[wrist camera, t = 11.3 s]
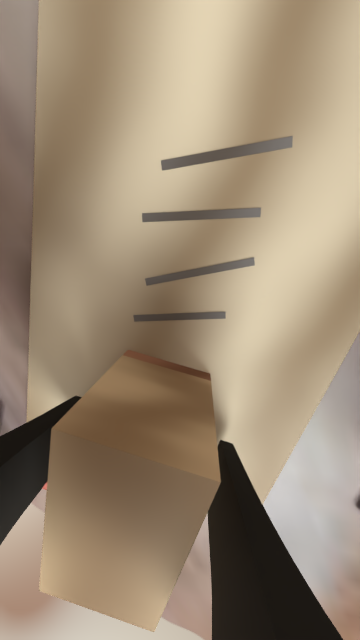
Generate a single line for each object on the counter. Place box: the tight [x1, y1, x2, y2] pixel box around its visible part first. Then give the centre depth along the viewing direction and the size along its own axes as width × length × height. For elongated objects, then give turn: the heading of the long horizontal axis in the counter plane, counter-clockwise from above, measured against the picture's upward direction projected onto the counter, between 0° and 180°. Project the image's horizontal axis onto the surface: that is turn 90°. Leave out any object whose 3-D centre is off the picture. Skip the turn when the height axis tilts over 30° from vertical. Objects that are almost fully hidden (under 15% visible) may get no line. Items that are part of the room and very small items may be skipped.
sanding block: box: [39, 350, 221, 632], centre depth 7 cm, size 4×7×4 cm, turn 166°
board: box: [27, 0, 360, 514], centre depth 8 cm, size 14×22×1 cm, turn 166°
